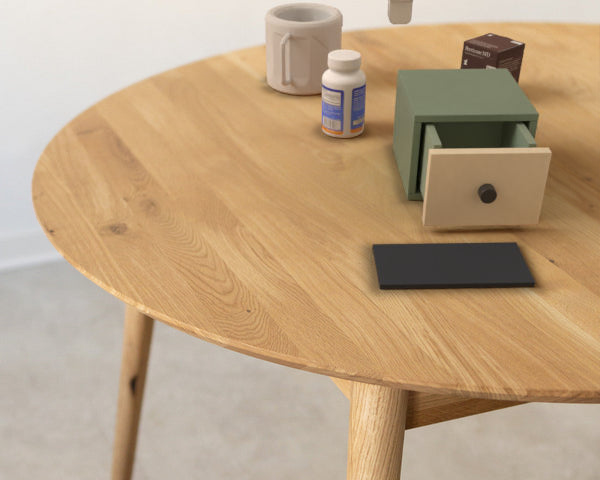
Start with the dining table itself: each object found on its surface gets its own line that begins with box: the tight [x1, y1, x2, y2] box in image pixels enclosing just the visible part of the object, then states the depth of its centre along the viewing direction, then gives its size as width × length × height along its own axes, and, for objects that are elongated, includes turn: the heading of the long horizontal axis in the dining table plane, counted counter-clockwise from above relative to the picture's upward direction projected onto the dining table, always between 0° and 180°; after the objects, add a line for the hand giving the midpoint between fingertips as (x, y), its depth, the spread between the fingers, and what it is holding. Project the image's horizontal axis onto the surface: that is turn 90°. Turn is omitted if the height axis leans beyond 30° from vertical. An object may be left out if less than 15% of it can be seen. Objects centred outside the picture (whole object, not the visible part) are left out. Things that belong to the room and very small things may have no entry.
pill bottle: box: [321, 48, 367, 139], centre depth 96 cm, size 5×5×10 cm
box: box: [459, 32, 526, 84], centre depth 107 cm, size 6×6×7 cm
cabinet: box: [391, 68, 540, 201], centre depth 87 cm, size 14×13×10 cm
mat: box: [371, 241, 536, 290], centre depth 73 cm, size 14×7×1 cm, turn 91°
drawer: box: [417, 121, 553, 227], centre depth 80 cm, size 14×11×8 cm
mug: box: [264, 2, 344, 96], centre depth 109 cm, size 14×11×10 cm
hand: (392, 6), depth 67 cm, fingers open, 8 cm apart
